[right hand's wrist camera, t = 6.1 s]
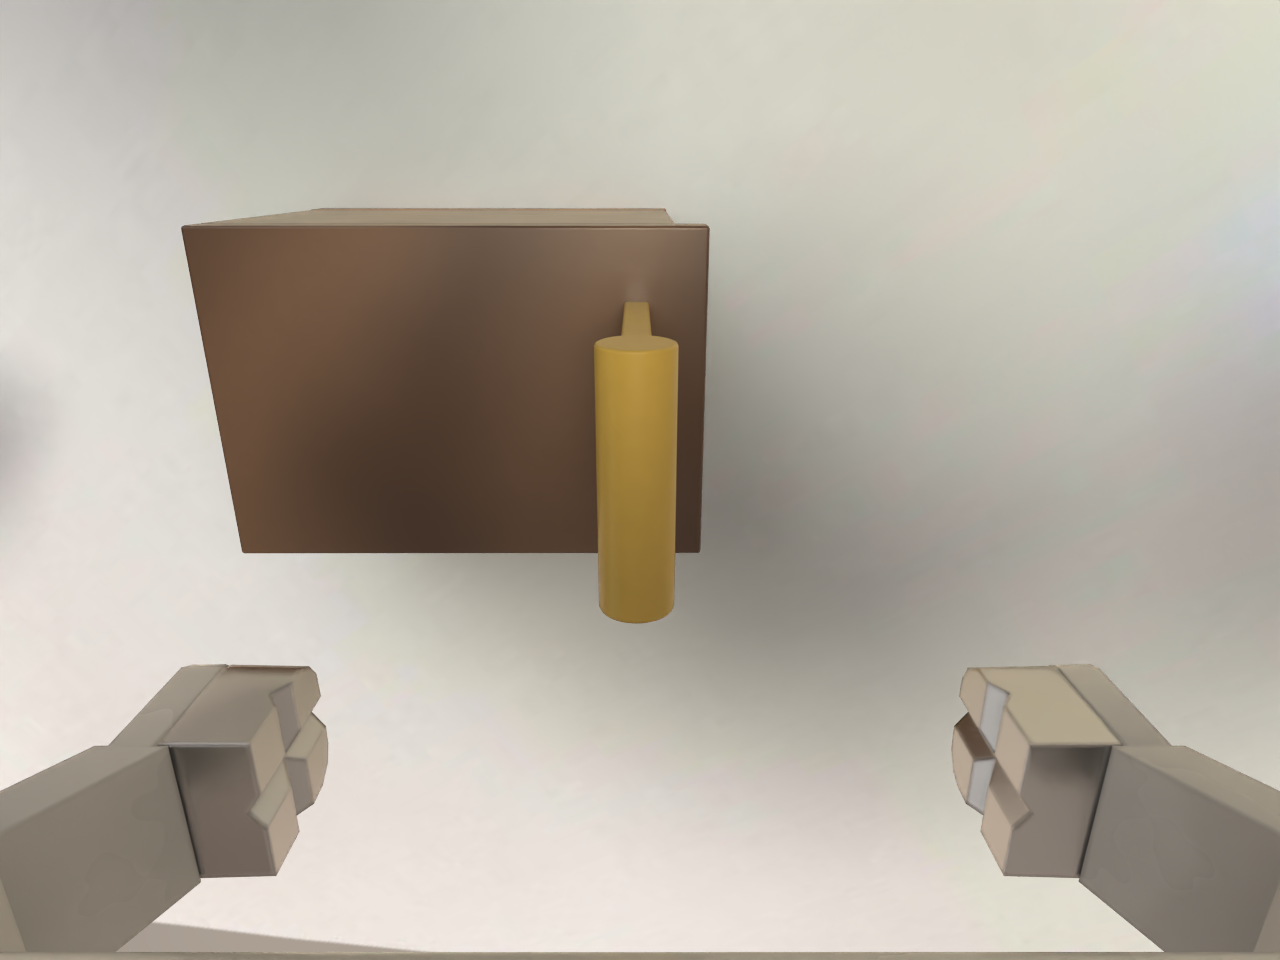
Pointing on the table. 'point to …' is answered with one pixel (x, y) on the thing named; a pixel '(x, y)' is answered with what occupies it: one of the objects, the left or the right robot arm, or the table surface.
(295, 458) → the door
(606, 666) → the table surface
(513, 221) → the brown wooden box
